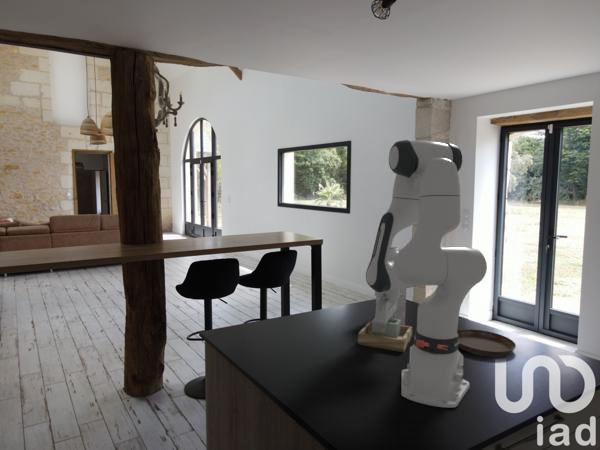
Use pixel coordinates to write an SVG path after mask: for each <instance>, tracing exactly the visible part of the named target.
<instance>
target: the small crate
mask: <svg viewBox="0 0 600 450" xmlns="http://www.w3.org/2000/svg"><path fill="white" fill-rule="evenodd" d="M371 321H372V334H373V335H379V336H385V337H391V338H397V337H398V336H399V334H400V323H401V320H400V319H393V318H390V319H389V320H388V321H387V324H386V327H387V331H386V333H382V332H381V326H380V324H377V323H376V322H375V317H374V318H373V319H372V320H371Z"/></svg>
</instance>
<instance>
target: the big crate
mask: <svg viewBox="0 0 600 450" xmlns="http://www.w3.org/2000/svg"><path fill="white" fill-rule="evenodd" d="M412 337H413V326H410V325H405V326H404V325H400V334H399V336H398V337H397V338H391V337H385V336H379V335H373V334H372V320H369V321H368V322H367V323H366V324H365V326H364V327H362V329H360V331H359V332H358V334H357V345H361V346H364V347H365V346H366V347H372V348H375V349H376V348H377V349H383V350H388V351H395V352H400V353H405V352H406V351H405V350H406V349H407V347H408V345H409V344H410V341H411V340H412ZM408 343H409V344H408Z"/></svg>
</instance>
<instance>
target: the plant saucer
mask: <svg viewBox="0 0 600 450" xmlns="http://www.w3.org/2000/svg"><path fill="white" fill-rule="evenodd" d="M457 334H458V335H459V345H458V348H460V349H461V350H463V351H464V352H467V353H470V354H471V355H477V356H481V357H490V358H498V357H504V356H507V355H509V354H511V353H512V352H514V350H515V349H516V348H517V347H516V343H515V341H514V340H512V339H511V338H509V337H508V336H504V335H501V334H499V333H495V332H492V331H487V330H482V329H473V328H472V329H470V328H467V329H466V328H465V329H458V330H457Z"/></svg>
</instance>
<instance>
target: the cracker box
mask: <svg viewBox="0 0 600 450" xmlns="http://www.w3.org/2000/svg"><path fill="white" fill-rule="evenodd" d="M375 298H376V299H375V305H376V304H377V301H378V297H376V296H375ZM406 306H407V288H404V289H401V292H400V297H399V299H398V307H397V310H396V311H395V313H394V314H393V317H392V318H393V319H400V320H401V323H400V325H404V326H406V314H407V313H406V312H407V311H406V310H407V309H406Z"/></svg>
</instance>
